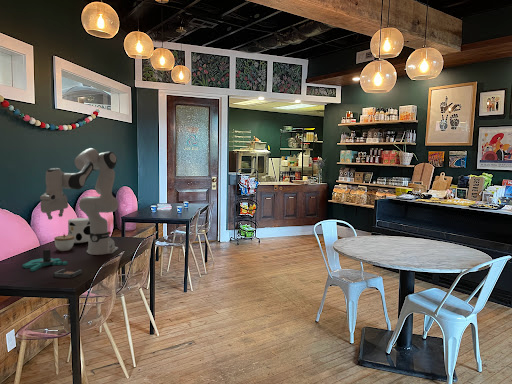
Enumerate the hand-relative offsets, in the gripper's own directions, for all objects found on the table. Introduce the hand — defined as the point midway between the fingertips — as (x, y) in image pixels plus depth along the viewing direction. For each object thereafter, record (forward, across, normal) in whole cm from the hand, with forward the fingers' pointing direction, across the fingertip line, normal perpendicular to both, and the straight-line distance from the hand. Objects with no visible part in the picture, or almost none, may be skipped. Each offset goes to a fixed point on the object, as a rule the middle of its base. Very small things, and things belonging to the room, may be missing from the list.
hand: (55, 217), depth 228 cm
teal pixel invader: (+30, +3, -8) cm, 31 cm away
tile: (+29, +18, +19) cm, 39 cm away
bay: (+28, +18, +20) cm, 39 cm away
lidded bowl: (+30, -34, -19) cm, 49 cm away
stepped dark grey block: (+27, +3, -5) cm, 28 cm away
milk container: (+31, -57, -22) cm, 68 cm away
